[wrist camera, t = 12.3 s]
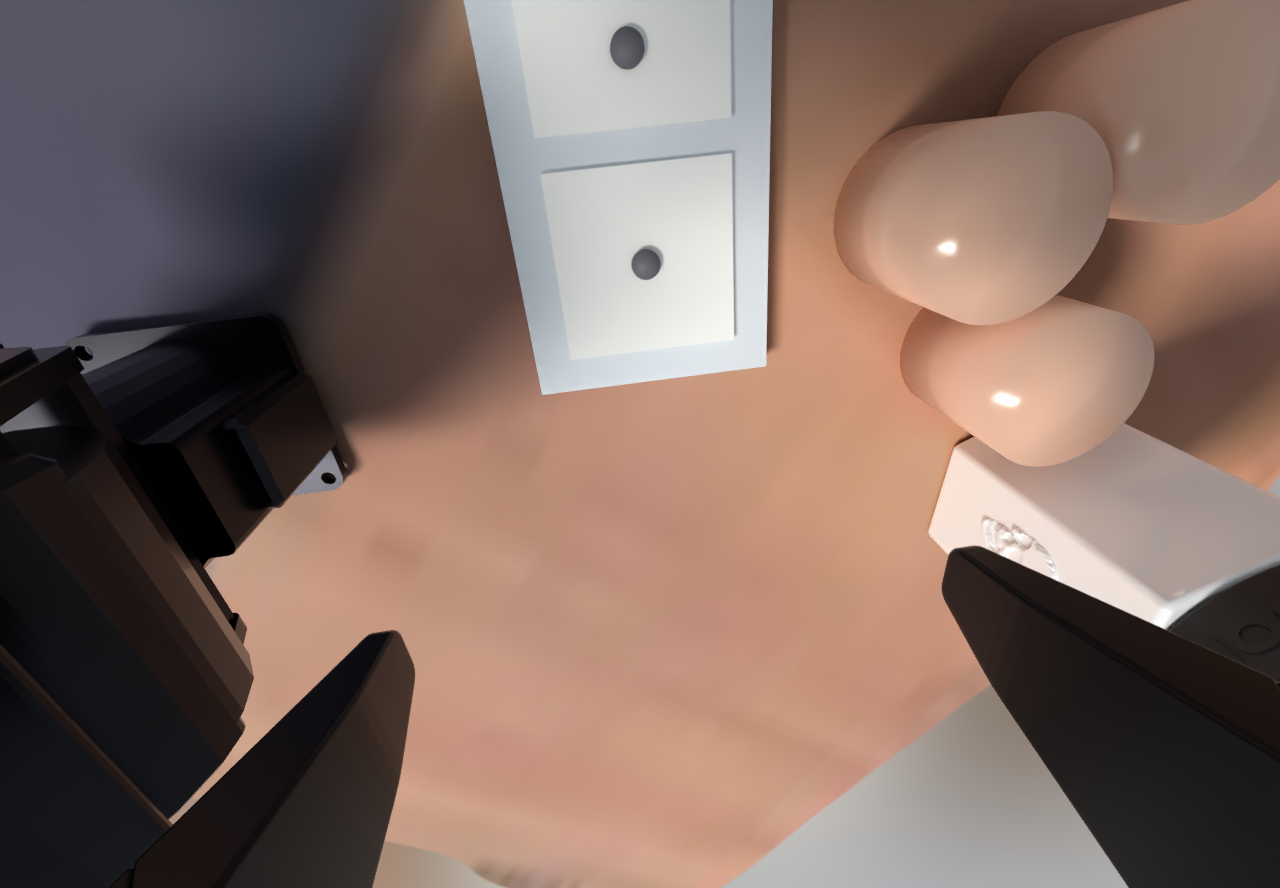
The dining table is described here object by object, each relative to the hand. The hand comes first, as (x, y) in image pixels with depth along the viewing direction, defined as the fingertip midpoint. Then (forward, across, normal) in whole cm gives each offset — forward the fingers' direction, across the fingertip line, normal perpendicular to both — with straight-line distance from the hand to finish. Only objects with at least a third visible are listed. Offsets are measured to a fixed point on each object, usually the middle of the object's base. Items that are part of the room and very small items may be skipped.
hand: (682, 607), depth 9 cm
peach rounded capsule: (+12, -10, -4) cm, 16 cm away
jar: (+12, -17, +8) cm, 22 cm away
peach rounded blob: (+12, -15, -6) cm, 20 cm away
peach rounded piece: (+12, -13, +1) cm, 18 cm away
